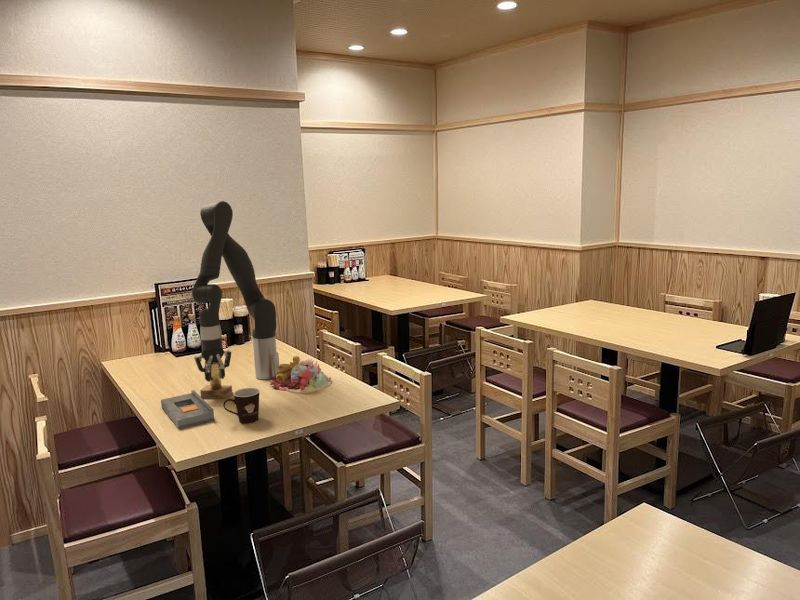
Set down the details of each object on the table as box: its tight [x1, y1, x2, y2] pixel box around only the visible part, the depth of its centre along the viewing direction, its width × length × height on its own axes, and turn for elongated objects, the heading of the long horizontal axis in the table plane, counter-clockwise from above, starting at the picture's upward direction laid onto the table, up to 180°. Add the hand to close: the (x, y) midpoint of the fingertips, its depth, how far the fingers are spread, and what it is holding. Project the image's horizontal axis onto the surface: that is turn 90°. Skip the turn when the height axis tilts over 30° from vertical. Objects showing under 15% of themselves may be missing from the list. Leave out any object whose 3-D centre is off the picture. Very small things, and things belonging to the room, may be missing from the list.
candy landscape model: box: [269, 355, 333, 395], centre depth 242 cm, size 25×24×9 cm
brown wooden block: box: [200, 384, 233, 399], centre depth 231 cm, size 10×6×3 cm, turn 83°
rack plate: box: [160, 389, 215, 430], centre depth 213 cm, size 24×12×4 cm, turn 34°
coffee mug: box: [222, 387, 260, 425], centre depth 205 cm, size 12×9×10 cm
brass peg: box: [209, 362, 222, 390], centre depth 230 cm, size 4×4×10 cm
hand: (215, 379), depth 230 cm, fingers open, 4 cm apart
